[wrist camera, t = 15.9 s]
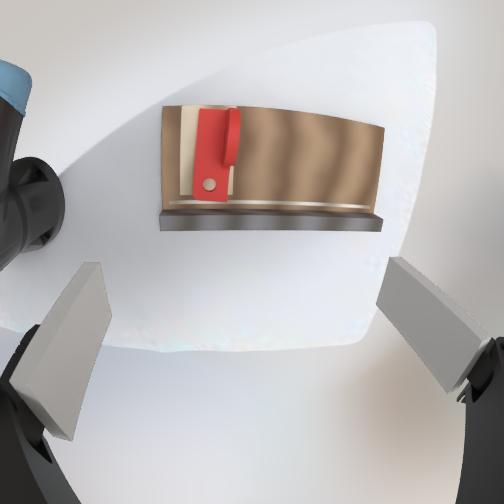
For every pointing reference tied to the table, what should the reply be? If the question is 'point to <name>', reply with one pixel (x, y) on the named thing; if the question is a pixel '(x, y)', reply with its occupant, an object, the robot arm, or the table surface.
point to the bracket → (215, 151)
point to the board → (275, 173)
